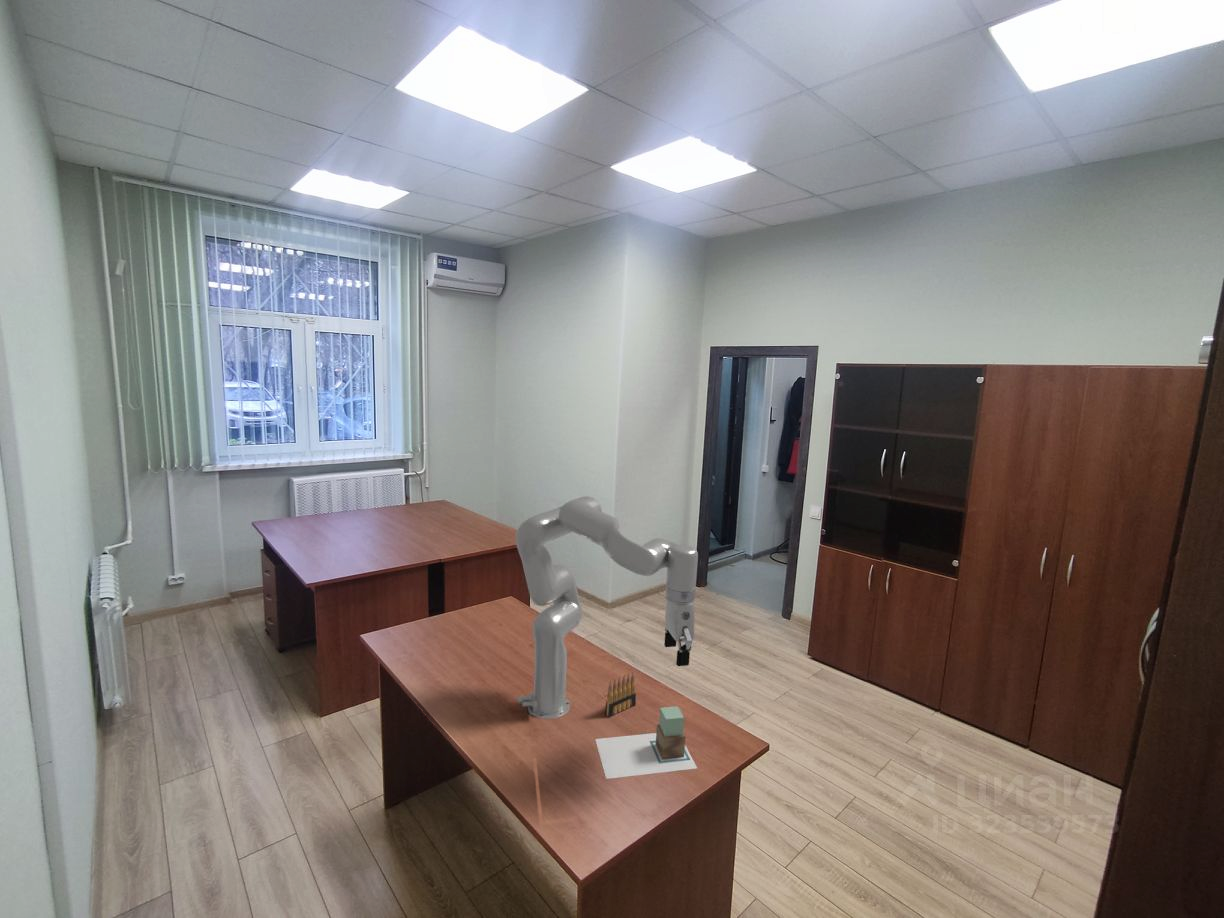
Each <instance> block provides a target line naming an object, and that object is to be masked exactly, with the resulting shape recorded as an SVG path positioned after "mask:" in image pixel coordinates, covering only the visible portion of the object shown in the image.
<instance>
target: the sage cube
mask: <svg viewBox="0 0 1224 918" xmlns="http://www.w3.org/2000/svg"><path fill="white" fill-rule="evenodd" d="M684 723H685V717H684V715H683V713H682V711H681V709H680V708H679V706H664V707H660V709H659V723H658V724H659V725H660V728H661V730H662V732H663V734H664V736H665V737H668V736H678V735H683V733H684Z"/></svg>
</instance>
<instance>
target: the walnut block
mask: <svg viewBox="0 0 1224 918" xmlns="http://www.w3.org/2000/svg"><path fill="white" fill-rule="evenodd" d="M655 733H656V746H657V749H658V751H659V753H660V755H661V757H662V760H663V759H671V758H680V757H684V750H685V745H686V734H685V732H683V735H678V736H668V737H665V736H664V734H663V732H662V730H661V728H660V725H659V723H657V724H656V732H655Z"/></svg>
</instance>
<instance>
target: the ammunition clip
mask: <svg viewBox="0 0 1224 918" xmlns="http://www.w3.org/2000/svg"><path fill="white" fill-rule="evenodd" d="M636 702H637V693H636V673H635V671H634V670H633V671H632V672H631V674H630V673H629V672H628V673H627V676H626V675H625V674H624V675H623V678H622V677H621V676H619V677H618V681H617V678H615V679H613V681H612V680H609V683H608V691H607V699H606V702H605V710H604V711H605V712H604V713H605V714H604V715H605V716H606V717H607V718H612V717H613V716H616V715H618V714H620V713H623V712H625V711H626V710H629V709H631V708H633V707H635V706H636Z"/></svg>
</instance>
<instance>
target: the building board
mask: <svg viewBox="0 0 1224 918" xmlns="http://www.w3.org/2000/svg"><path fill="white" fill-rule="evenodd" d="M595 743H596V746H597V747H596V748H597V751H598V755H599V757H600V761H601V765H602V768H603V772H604V775H605V779H606V780H610V779H618V778H629V777H636V776H645V775H653V774H661V773H668V772H669V773H670V772H679V771H686V770H695V769H696V770H697V769H698V767H697V764H696V763H695V761H694V759H693V757H692V756H691V754H690V752H689V749H688V747H687V745H686V744H685V750H684V757H680V758H671V759H663V760H662V757H661V755H660V753H659V751H658V749H657V746H656V732H654V733H653V732H652V733H645V734H644V733H642V734H632V735H624V736H622V735H621V736H613V737H603V738H595Z"/></svg>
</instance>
